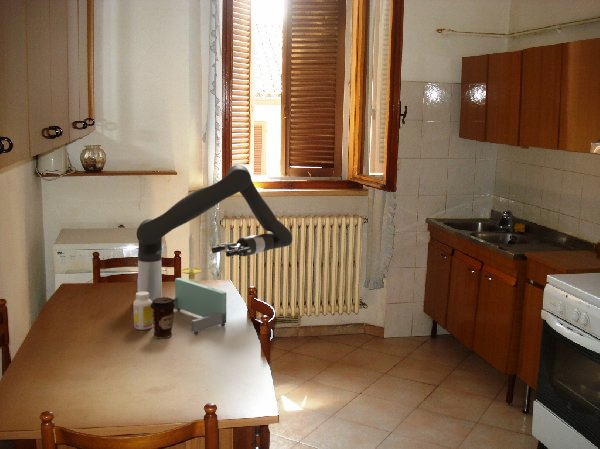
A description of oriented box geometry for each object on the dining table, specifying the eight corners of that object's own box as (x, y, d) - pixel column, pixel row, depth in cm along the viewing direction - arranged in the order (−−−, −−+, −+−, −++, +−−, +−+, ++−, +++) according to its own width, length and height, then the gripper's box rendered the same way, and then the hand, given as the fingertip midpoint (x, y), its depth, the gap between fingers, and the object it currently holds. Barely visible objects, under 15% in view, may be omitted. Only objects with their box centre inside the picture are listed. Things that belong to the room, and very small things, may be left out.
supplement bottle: (155, 324, 251) (154, 291, 248) (149, 330, 244) (148, 296, 242) (137, 323, 251) (136, 290, 249) (131, 329, 245) (130, 295, 242)
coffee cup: (180, 334, 242) (180, 298, 239) (166, 341, 234) (166, 304, 232) (160, 329, 245) (159, 295, 243) (146, 337, 238) (145, 301, 236)
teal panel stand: (147, 317, 258) (146, 284, 255) (179, 309, 269) (179, 277, 266) (194, 336, 240) (193, 300, 237) (226, 326, 250) (226, 292, 248)
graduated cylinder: (194, 288, 298) (194, 227, 293) (208, 293, 291) (208, 231, 286) (175, 292, 292) (174, 230, 287) (188, 297, 284) (187, 234, 279)
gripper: (238, 233, 277) (207, 239, 265) (263, 238, 267) (231, 245, 255) (239, 251, 278) (207, 258, 267) (263, 257, 268) (231, 265, 257)
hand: (219, 252), depth 261 cm, fingers open, 8 cm apart
